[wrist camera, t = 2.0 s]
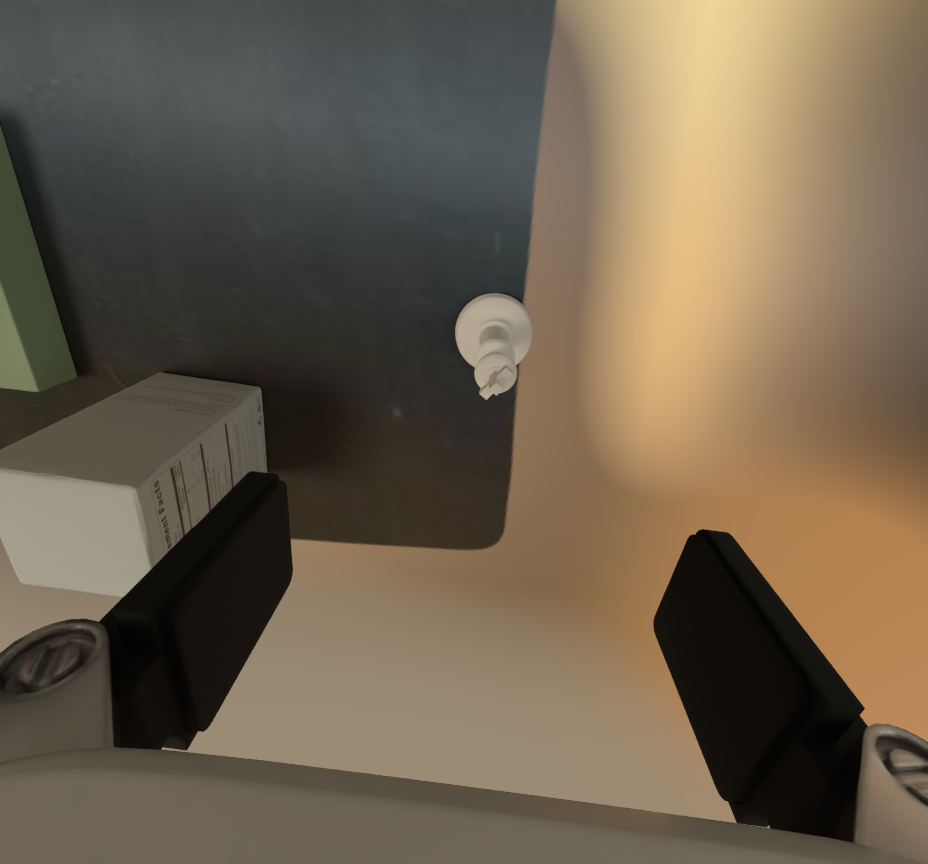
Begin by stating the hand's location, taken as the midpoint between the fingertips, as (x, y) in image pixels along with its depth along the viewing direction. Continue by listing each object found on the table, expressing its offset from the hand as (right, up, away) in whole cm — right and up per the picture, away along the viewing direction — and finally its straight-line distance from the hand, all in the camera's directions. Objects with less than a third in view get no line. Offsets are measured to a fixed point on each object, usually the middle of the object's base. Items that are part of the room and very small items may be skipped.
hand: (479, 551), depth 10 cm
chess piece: (+2, +9, +18) cm, 20 cm away
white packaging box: (-18, +3, +22) cm, 29 cm away
